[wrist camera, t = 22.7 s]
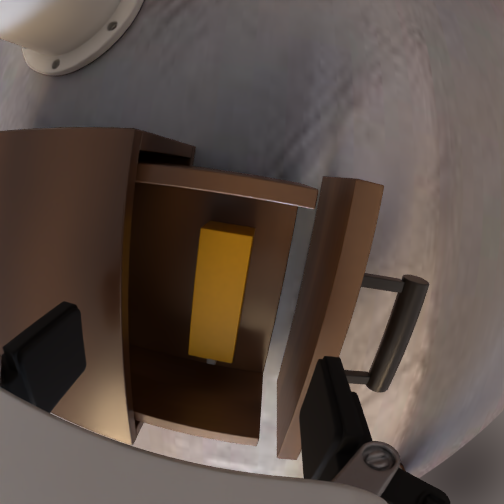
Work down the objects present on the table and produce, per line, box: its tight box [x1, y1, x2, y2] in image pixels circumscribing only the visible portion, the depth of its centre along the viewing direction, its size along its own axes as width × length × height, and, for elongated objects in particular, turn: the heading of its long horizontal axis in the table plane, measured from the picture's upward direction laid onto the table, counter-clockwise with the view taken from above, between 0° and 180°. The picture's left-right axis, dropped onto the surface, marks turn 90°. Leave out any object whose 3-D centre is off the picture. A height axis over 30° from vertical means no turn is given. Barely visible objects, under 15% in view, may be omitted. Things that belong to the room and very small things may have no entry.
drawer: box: [128, 160, 429, 460], centre depth 17 cm, size 20×15×8 cm
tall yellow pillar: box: [188, 221, 255, 365], centre depth 18 cm, size 9×3×2 cm, turn 171°
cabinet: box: [0, 127, 196, 445], centre depth 17 cm, size 16×17×10 cm
